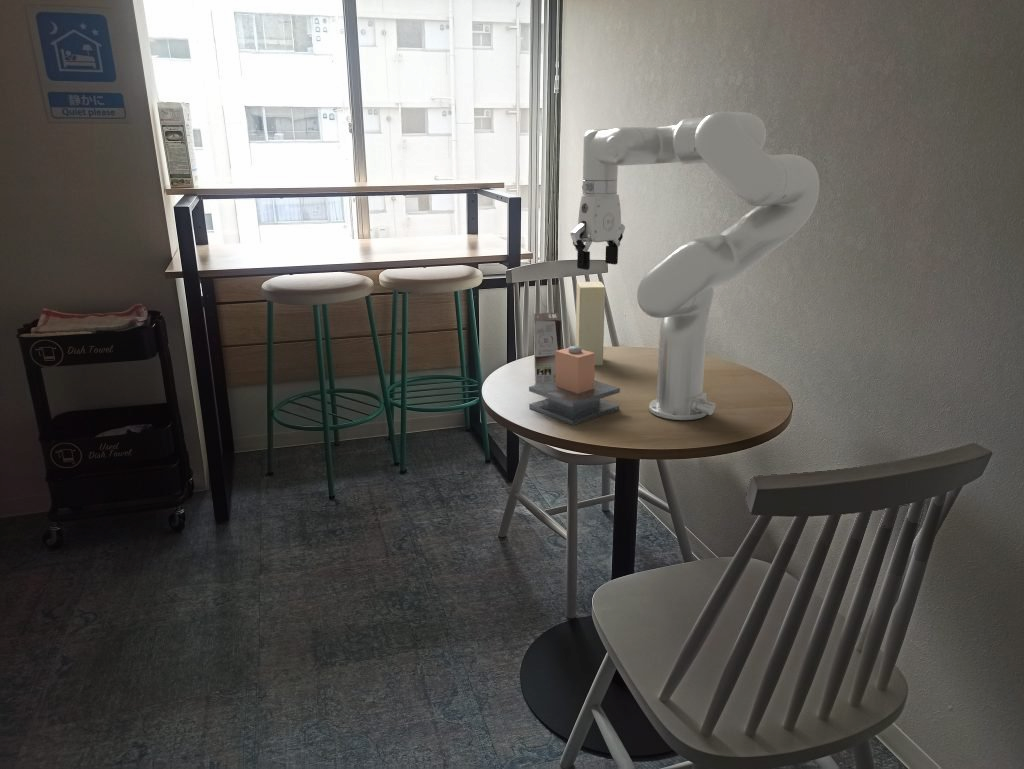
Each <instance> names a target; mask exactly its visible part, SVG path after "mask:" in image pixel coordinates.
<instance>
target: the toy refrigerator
mask: <svg viewBox="0 0 1024 769" xmlns="http://www.w3.org/2000/svg"><path fill="white" fill-rule="evenodd" d="M575 298H576V299H575V300H576V303H575V304H576V305H575V306H576V307H575V308H576V310H575V314H576V315H575V346H580V347H582V350H585V351H589V352H593V353H595V366H603V365H604V343H605V342H604V340H605V338H604V336H605V307H606V306H605V305H606V304H605V302H606V286H605V285H604V284H603V282H602V281H577V282H576V297H575Z"/></svg>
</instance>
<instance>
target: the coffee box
mask: <svg viewBox="0 0 1024 769" xmlns="http://www.w3.org/2000/svg"><path fill="white" fill-rule="evenodd" d="M561 329H562V318H561V316H560V313H559V312H543V313H534V315H533V332H534V334H533V335H534V336H533V338H534V339H533V340H534V342H533V346H534V347H533V348H534V354H533V355H534V358H533V359H534V382H535V383H534V385H538V384H541V383H545V382H548V381H552V380H555V351H558V350H562V348H561V347H562V337H561V336H562V330H561Z"/></svg>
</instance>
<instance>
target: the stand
mask: <svg viewBox="0 0 1024 769" xmlns="http://www.w3.org/2000/svg"><path fill="white" fill-rule="evenodd" d="M528 389H529V390H528V392H530V393H533V394H536V395H538V396H541V397H543V398H544V397H545V399H542V400H539V401H538V400H537V401H536V402H535V401H534V402H532V403H528V405H529V406H528V408H529V409H530V408H531V409H530V410H532V409H533V410H532V411H535V412H538V413H541V414H543V415H546V416H548V417H551V418H554V419H556V420H558V421H560V422H564V423H566V424H568V425H571V426H575V425H578V423H579V424H581V423H584V422H587V421H590V420H593V419H597V418H599V417H602V416H606V415H609V414H611V413H615V412H617V411H620V405H619V404H616V403H613V402H610V401H608V400H604V399H605V398H606V397H611V396H614V395H616V394H620V392H621V388H620V387H617V386H614V385H612V384H609V383H605V382H603V381H599V380H595V379H594V389H591V390H588V391H585V392H581V393H578V394H577V393H574V392H571V391H569V390H566V389H563V388H560V387H557V386H555V380H552V381H548V382H545V383H541V384H538V385H536V384H534V385H531V386H529V387H528Z"/></svg>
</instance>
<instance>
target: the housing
mask: <svg viewBox="0 0 1024 769" xmlns="http://www.w3.org/2000/svg"><path fill="white" fill-rule="evenodd" d="M595 368H596V365H595V353H593V352H589V351H585V350H582V347H580V346H576V345H570V346H569V347H566V348H561V350H558V351H555V386H557V387H560V388H563V389H566V390H569V391H571V392H574V393H577V394H578V393H581V392H585V391H588V390H591V389H594V380H595V376H596V375H595V374H596V373H595V372H596V371H595Z"/></svg>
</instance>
